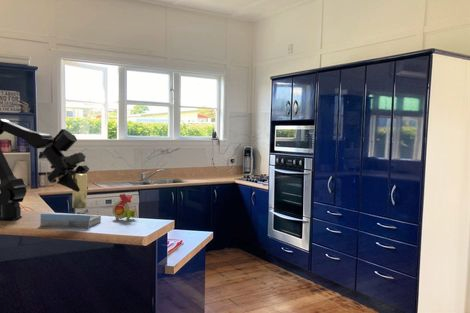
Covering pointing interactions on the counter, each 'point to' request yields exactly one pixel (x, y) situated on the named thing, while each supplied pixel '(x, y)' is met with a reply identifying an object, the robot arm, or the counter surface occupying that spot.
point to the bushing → (80, 196)
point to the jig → (69, 220)
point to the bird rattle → (120, 209)
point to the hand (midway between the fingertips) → (83, 190)
